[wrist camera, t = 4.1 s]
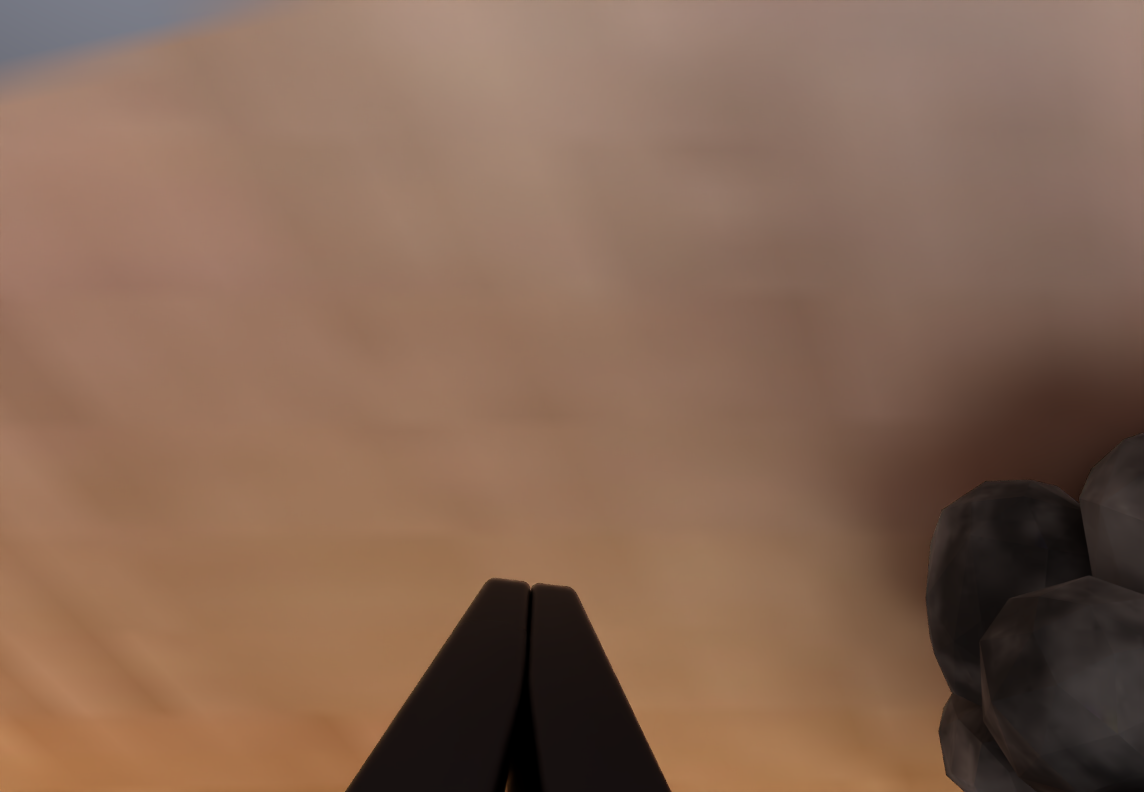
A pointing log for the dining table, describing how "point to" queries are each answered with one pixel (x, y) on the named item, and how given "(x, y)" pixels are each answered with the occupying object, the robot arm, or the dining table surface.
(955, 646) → the fruit
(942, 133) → the dining table surface
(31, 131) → the dining table surface
